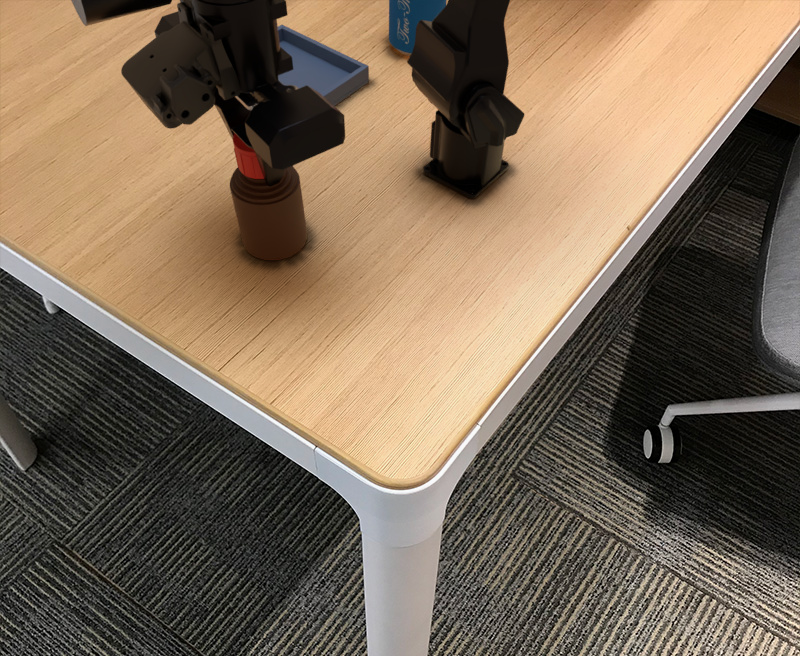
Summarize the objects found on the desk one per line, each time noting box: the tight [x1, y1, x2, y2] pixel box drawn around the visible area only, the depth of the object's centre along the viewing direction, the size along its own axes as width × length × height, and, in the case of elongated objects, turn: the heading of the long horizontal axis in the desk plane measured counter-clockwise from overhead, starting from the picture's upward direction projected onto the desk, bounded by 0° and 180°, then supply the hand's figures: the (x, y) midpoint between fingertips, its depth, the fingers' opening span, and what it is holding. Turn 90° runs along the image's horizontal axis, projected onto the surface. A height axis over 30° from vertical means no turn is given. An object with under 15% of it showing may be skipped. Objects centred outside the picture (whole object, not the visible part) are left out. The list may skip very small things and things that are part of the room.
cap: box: [232, 134, 264, 179], centre depth 63 cm, size 4×4×3 cm
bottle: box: [229, 165, 308, 261], centre depth 67 cm, size 6×6×10 cm
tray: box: [277, 24, 370, 107], centre depth 85 cm, size 13×11×2 cm
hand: (261, 171), depth 65 cm, fingers closed on cap, 4 cm apart
